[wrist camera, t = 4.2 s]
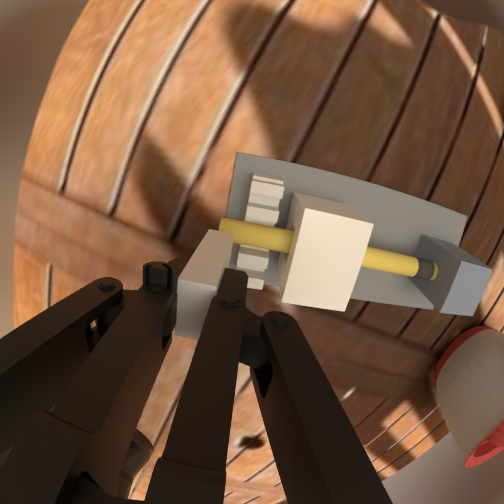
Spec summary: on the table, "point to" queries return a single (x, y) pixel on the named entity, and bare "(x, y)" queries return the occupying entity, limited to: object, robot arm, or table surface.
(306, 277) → the sleeve
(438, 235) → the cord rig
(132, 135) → the table surface
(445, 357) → the citrus juicer
